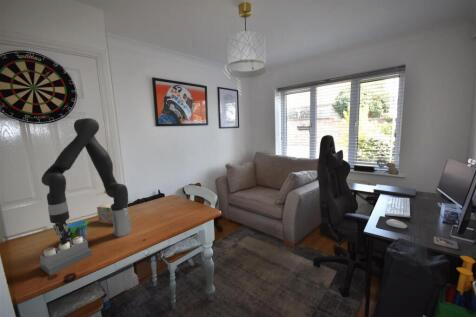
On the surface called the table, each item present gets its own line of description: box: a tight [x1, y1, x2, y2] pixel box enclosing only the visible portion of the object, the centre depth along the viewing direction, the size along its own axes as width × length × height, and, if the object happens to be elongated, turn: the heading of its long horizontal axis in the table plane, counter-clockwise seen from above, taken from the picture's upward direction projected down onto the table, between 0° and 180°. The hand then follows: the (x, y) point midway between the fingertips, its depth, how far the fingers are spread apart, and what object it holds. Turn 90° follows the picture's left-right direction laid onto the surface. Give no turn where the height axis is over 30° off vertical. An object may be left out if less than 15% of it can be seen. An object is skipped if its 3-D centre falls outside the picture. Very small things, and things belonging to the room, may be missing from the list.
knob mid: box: [58, 242, 70, 251], centre depth 109 cm, size 4×4×6 cm
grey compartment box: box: [38, 238, 93, 276], centre depth 109 cm, size 18×12×8 cm, turn 150°
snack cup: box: [67, 220, 88, 242], centre depth 131 cm, size 16×10×10 cm
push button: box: [66, 232, 72, 243], centre depth 120 cm, size 7×5×10 cm
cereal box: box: [96, 203, 113, 225], centre depth 155 cm, size 21×6×12 cm, turn 75°
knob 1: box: [43, 247, 56, 258], centre depth 104 cm, size 4×4×6 cm
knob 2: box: [73, 236, 83, 245], centre depth 114 cm, size 4×4×6 cm
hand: (64, 243), depth 108 cm, fingers closed
